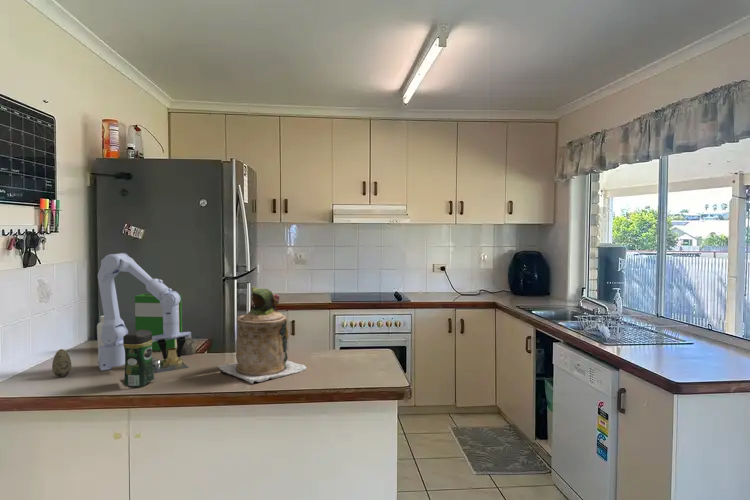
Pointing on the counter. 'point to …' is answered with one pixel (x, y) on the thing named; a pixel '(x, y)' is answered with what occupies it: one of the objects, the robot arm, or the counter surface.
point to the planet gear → (171, 357)
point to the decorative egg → (61, 363)
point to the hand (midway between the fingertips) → (171, 357)
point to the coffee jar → (138, 358)
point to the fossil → (188, 347)
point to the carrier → (160, 368)
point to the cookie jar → (262, 342)
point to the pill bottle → (100, 331)
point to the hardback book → (153, 318)
